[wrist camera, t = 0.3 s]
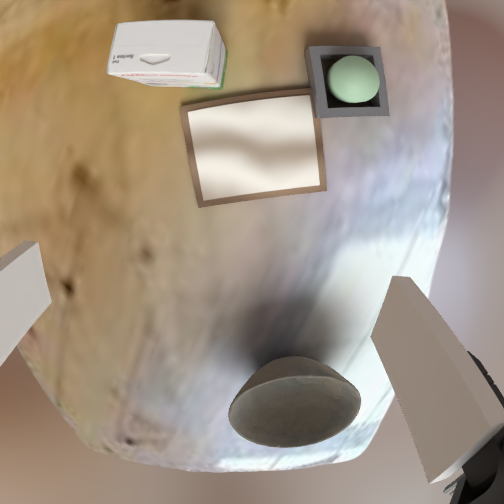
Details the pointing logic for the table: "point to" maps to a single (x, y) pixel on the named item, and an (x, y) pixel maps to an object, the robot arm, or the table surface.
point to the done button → (352, 79)
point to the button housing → (318, 87)
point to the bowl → (294, 403)
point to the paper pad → (254, 147)
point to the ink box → (169, 53)
